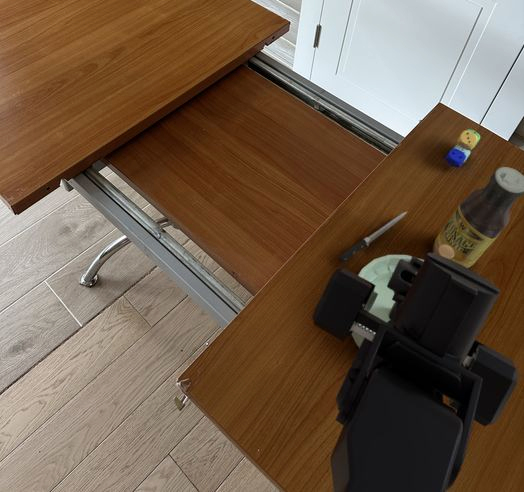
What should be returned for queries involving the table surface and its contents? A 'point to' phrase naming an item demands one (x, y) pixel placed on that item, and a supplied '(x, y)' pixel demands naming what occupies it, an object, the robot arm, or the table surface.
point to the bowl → (380, 286)
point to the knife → (369, 239)
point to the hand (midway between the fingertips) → (412, 317)
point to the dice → (463, 148)
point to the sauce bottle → (481, 217)
